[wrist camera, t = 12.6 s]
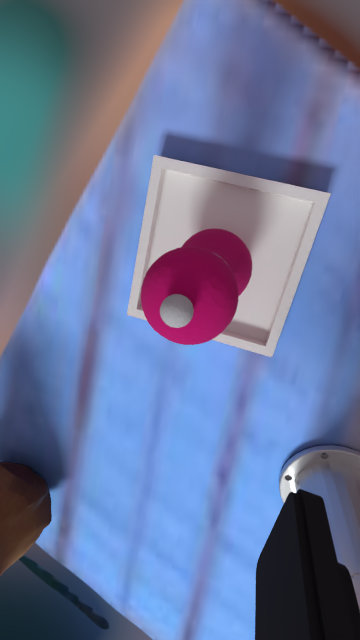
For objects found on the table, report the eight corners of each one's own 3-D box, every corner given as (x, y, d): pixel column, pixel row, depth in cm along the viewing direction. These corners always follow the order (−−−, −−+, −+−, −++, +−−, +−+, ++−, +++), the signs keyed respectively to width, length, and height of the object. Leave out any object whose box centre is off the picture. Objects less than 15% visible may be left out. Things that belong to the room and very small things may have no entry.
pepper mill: (199, 216, 34) (126, 218, 15) (264, 241, 33) (272, 275, 14) (176, 280, 36) (91, 348, 18) (237, 304, 36) (213, 401, 17)
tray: (326, 194, 31) (330, 193, 29) (271, 349, 37) (272, 357, 35) (160, 158, 34) (153, 155, 31) (133, 309, 39) (126, 314, 37)
